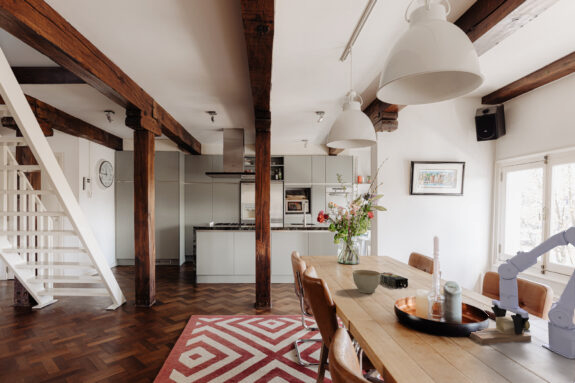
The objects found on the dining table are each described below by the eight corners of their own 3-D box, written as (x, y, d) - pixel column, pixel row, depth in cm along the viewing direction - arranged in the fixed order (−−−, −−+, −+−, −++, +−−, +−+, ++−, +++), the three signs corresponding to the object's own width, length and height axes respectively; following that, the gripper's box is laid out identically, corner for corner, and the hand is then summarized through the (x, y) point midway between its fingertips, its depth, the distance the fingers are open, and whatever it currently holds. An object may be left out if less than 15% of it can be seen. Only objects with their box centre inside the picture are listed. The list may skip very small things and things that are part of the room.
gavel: (470, 306, 143) (490, 305, 144) (471, 316, 142) (491, 315, 143) (507, 320, 122) (529, 319, 123) (508, 332, 122) (530, 331, 123)
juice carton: (376, 280, 203) (376, 271, 203) (388, 280, 206) (389, 270, 206) (395, 289, 183) (395, 279, 184) (408, 288, 186) (408, 278, 186)
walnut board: (531, 341, 113) (530, 335, 113) (482, 344, 111) (482, 338, 111) (512, 332, 121) (512, 327, 121) (466, 334, 119) (466, 329, 119)
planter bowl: (376, 296, 167) (376, 277, 167) (348, 292, 175) (348, 273, 176) (384, 290, 181) (383, 271, 181) (357, 286, 189) (357, 268, 190)
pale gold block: (523, 333, 115) (523, 320, 115) (504, 334, 114) (503, 321, 114) (514, 329, 119) (514, 316, 119) (495, 330, 118) (495, 317, 118)
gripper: (484, 289, 124) (485, 323, 123) (515, 300, 109) (516, 338, 109) (500, 288, 125) (501, 322, 124) (533, 299, 110) (534, 337, 110)
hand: (509, 330), depth 117 cm, fingers open, 7 cm apart
